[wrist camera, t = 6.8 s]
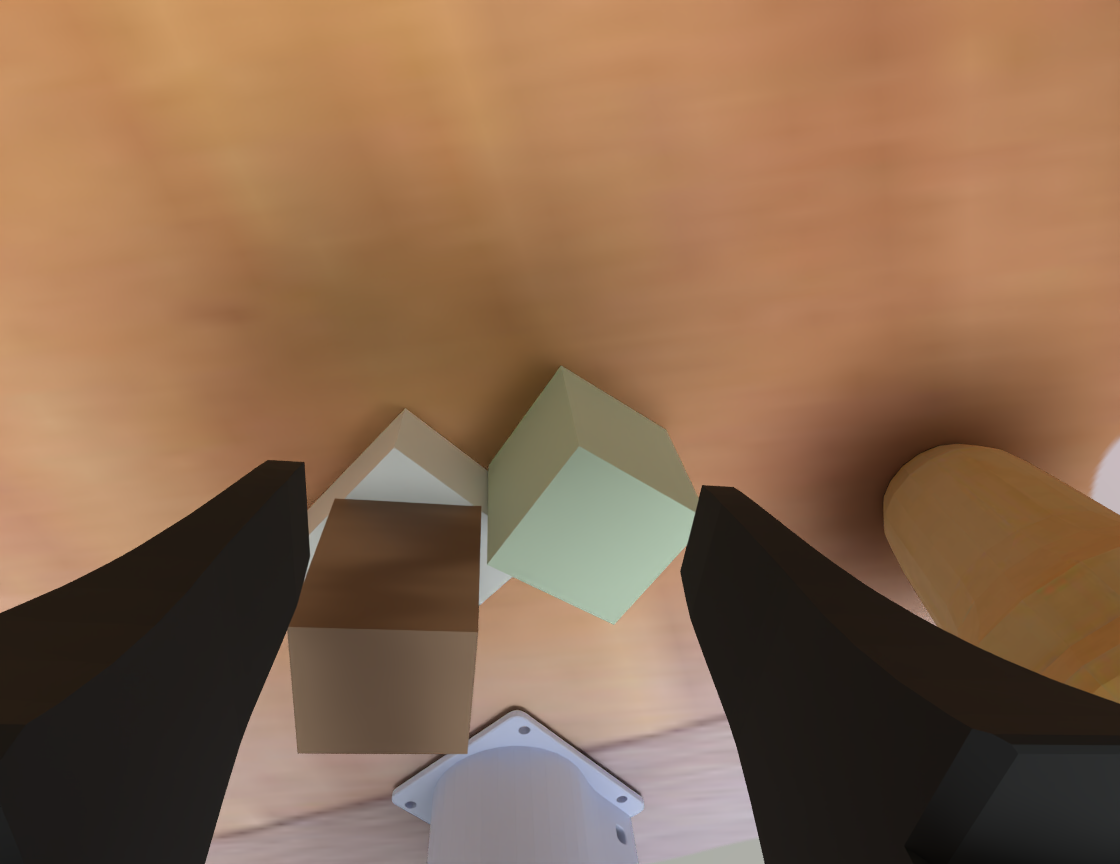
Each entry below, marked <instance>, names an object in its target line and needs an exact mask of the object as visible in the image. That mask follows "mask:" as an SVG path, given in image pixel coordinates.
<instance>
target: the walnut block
mask: <svg viewBox="0 0 1120 864" xmlns="http://www.w3.org/2000/svg"><path fill="white" fill-rule="evenodd" d="M481 508H482V506H464V505H447V504H429V503H411V502H393V501H375V500H356V499H337V498H335V499H334V502H333V504H332V507H331V510H330V513H329V515H328V518H327V521H326V523H325V526H324V529H323V531H322V534H321V537H320V540H319V542H318V545H317V548H316V550H315V553H314V556H313V558H312V561H311V564H310V567H309V569H308V572H307V575H306V577H305V580H304V583H303V586H302V590H301V593H300V597H299V601H298V604H297V607H296V610H295V612H294V614H293V617H292V619H291V622H290V624H289V627H288V629H287V631H288V643H289V655H290V667H291V679H292V691H293V703H294V715H295V727H296V739H297V751H298V753H322V754H467V753H468V741H469V730H470V719H471V707H472V696H473V684H474V673H475V661H476V650H477V639H478V616H479V580H480V544H481Z"/></svg>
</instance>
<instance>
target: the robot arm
mask: <svg viewBox="0 0 1120 864" xmlns="http://www.w3.org/2000/svg"><path fill="white" fill-rule="evenodd" d="M309 559H310V544H309V528H308V512H307V496H306V481H305V465H304V462H292V461H275V460H267V461H266V462H264V463H263V464H261V465H260V466H258V467H257V468H255V469H254V470H252V471H251V472H249V473H248V474H247V475H245V476H244V477H242V478H241V479H240V480H238V481H237V482H236V483H234V484H233V485H231V486H230V487H229V488H227V489H226V490H224V491H223V492H221V493H220V494H219V495H217V496H216V497H214V498H213V499H211V500H210V501H208V502H207V503H206V504H204V505H203V506H201V507H200V508H198V509H197V510H195V511H194V512H193V513H191V514H190V515H188V516H187V517H185V518H183V519H182V520H180V521H179V522H177V523H175V524H174V525H172V526H171V527H169V528H167V529H166V530H164V531H163V532H161V533H159V534H158V535H156V536H155V537H153V538H151V539H150V540H148V541H146V542H145V543H143V544H142V545H140V546H138V547H137V548H135V549H133V550H132V551H130V552H128V553H126V554H125V555H123V556H121V557H119V558H117V559H115V560H114V561H112V562H110V563H108V564H106V565H104V566H102V567H100V568H98V569H96V570H94V571H92V572H90V573H88V574H86V575H84V576H83V577H81V578H79V579H77V580H75V581H73V582H70V583H68V584H66V585H64V586H62V587H60V588H58V589H55V590H53V591H51V592H48V593H46V594H44V595H41V596H39V597H37V598H34V599H32V600H30V601H27V602H25V603H23V604H20V605H18V606H16V607H14V608H11V609H9V610H7V611H4V612H2V613H0V864H205V861H206V858H207V854H208V851H209V847H210V844H211V840H212V837H213V833H214V830H215V826H216V823H217V819H218V816H219V812H220V809H221V805H222V802H223V799H224V795H225V792H226V789H227V786H228V782H229V779H230V776H231V772H232V769H233V766H234V763H235V759H236V756H237V753H238V749H239V746H240V743H241V740H242V738H243V735H244V732H245V730H246V727H247V724H248V722H249V719H250V716H251V714H252V712H253V709H254V707H255V705H256V702H257V700H258V697H259V695H260V693H261V690H262V688H263V686H264V683H265V681H266V679H267V676H268V674H269V672H270V669H271V667H272V665H273V662H274V660H275V658H276V655H277V653H278V650H279V648H280V646H281V643H282V641H283V639H284V636H285V634H286V631H287V629H288V627H289V624H290V622H291V619H292V617H293V614H294V612H295V610H296V607H297V604H298V601H299V597H300V593H301V590H302V586H303V583H304V579H305V575H306V571H307V567H308V563H309ZM680 572H681V577H682V582H683V587H684V592H685V597H686V602H687V606H688V610H689V615H690V619H691V622H692V624H693V627H694V630H695V633H696V636H697V638H698V641H699V644H700V647H701V649H702V652H703V655H704V658H705V660H706V663H707V666H708V668H709V671H710V674H711V676H712V679H713V682H714V684H715V687H716V690H717V692H718V695H719V698H720V700H721V703H722V706H723V708H724V711H725V714H726V716H727V719H728V722H729V725H730V728H731V731H732V734H733V737H734V740H735V743H736V746H737V750H738V754H739V758H740V762H741V766H742V770H743V774H744V777H745V781H746V785H747V789H748V793H749V797H750V801H751V805H752V810H753V814H754V818H755V823H756V827H757V831H758V836H759V840H760V844H761V849H762V853H763V858H764V862H765V864H1120V704H1119V703H1117V702H1114V701H1111V700H1108V699H1105V698H1103V697H1100V696H1097V695H1094V694H1091V693H1089V692H1086V691H1083V690H1080V689H1078V688H1075V687H1072V686H1069V685H1066V684H1064V683H1061V682H1058V681H1056V680H1053V679H1051V678H1048V677H1046V676H1043V675H1041V674H1039V673H1036V672H1034V671H1031V670H1029V669H1027V668H1024V667H1022V666H1019V665H1017V664H1015V663H1012V662H1010V661H1008V660H1005V659H1003V658H1001V657H999V656H996V655H994V654H992V653H990V652H988V651H985V650H983V649H981V648H979V647H977V646H975V645H973V644H971V643H969V642H967V641H965V640H963V639H961V638H959V637H957V636H955V635H953V634H951V633H949V632H947V631H945V630H943V629H941V628H939V627H937V626H935V625H933V624H931V623H929V622H928V621H926V620H924V619H922V618H920V617H918V616H917V615H915V614H913V613H911V612H910V611H908V610H906V609H905V608H903V607H901V606H899V605H898V604H896V603H894V602H893V601H891V600H889V599H888V598H886V597H884V596H883V595H881V594H879V593H878V592H876V591H875V590H873V589H871V588H870V587H868V586H867V585H865V584H864V583H862V582H861V581H859V580H858V579H856V578H855V577H853V576H852V575H851V574H849V573H848V572H846V571H845V570H843V569H842V568H840V567H839V566H838V565H836V564H835V563H833V562H832V561H830V560H829V559H828V558H826V557H825V556H824V555H822V554H821V553H820V552H818V551H817V550H815V549H814V548H813V547H812V546H810V545H809V544H808V543H806V542H805V541H804V540H802V539H801V538H800V537H798V536H797V535H796V534H795V533H793V532H792V531H791V530H790V529H788V528H787V527H786V526H784V525H783V524H782V523H781V522H779V521H778V520H777V519H776V518H774V517H773V516H772V515H771V514H769V513H768V512H767V511H765V510H764V509H763V508H762V507H760V506H759V505H758V504H756V503H755V502H754V501H753V500H751V499H750V498H749V497H747V496H746V495H744V494H743V493H742V492H740V491H739V490H737V489H736V488H734V487H722V486H705V485H702V488H701V492H700V496H699V500H698V504H697V508H696V512H695V516H694V520H693V524H692V528H691V532H690V535H689V539H688V543H687V547H686V551H685V555H684V559H683V563H682V567H681V571H680ZM523 726H526V727H523ZM392 802H393V803H394V804H395V805H397V806H399V807H400V808H402V809H404V810H406V811H407V812H409V813H411V814H413V815H414V816H416V817H418V818H420V819H421V820H423V821H425V822H426V823H428V824H430V834H429V846H428V857H427V864H639V862H638V856H637V850H636V845H635V839H634V834H633V828H632V823H631V817H633V816H635V815H636V814H638V813H640V812H641V811H642V810H643V809H644V801H643V798H642V797H641V796H640V795H638V794H637V793H635V792H634V791H633V790H631V789H630V788H629V787H627V786H626V785H624V784H623V783H622V782H620V781H619V780H618V779H616V778H615V777H613V776H612V775H611V774H609V773H608V772H607V771H605V770H604V769H602V768H601V767H600V766H598V765H597V764H595V763H594V762H593V761H591V760H590V759H589V758H587V757H586V756H584V755H583V754H582V753H580V752H579V751H578V750H576V749H575V748H573V747H572V746H571V745H569V744H568V743H566V742H565V741H564V740H562V739H561V738H560V737H558V736H557V735H555V734H554V733H553V732H551V731H550V730H549V729H547V728H546V727H544V726H543V725H542V724H540V723H539V722H538V721H536V720H535V719H533V718H532V717H531V716H529V715H528V714H526V713H525V712H523V711H520V710H514V711H511V712H509V713H508V714H506V715H505V716H503V717H502V718H500V719H499V720H497V721H496V722H494V723H493V724H491V725H490V726H488V727H487V728H485V729H484V730H482V731H481V732H479V733H478V734H476V735H475V736H473V737H472V738H470V739H469V741H468V753H467V754H446V755H445V756H443V757H442V758H440V759H439V760H437V761H436V762H434V763H433V764H431V765H430V766H428V767H427V768H425V769H424V770H422V771H421V772H419V773H418V774H416V775H415V776H413V777H412V778H410V779H409V780H407V781H406V782H404V783H403V784H401V785H400V786H398V787H397V788H395V789H394V790H393V793H392Z"/></svg>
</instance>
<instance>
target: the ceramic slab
mask: <svg viewBox="0 0 1120 864" xmlns="http://www.w3.org/2000/svg"><path fill="white" fill-rule="evenodd" d="M335 498H337V499H356V500H375V501H393V502H411V503H429V504H447V505H464V506H482V508H481V544H480V580H479V605H481V604H482V603H483V602H484V601H485V600H486V599H487V598H489V597H490V596H491V595H492V594H493V593H494V592H495V591H497V590H498V589H499V588H500V587H501V586H502V585H504V584H505V583H506V582H507V581H508V580H509V579H510V578H512V576H510V575H508V574H506V573H504V572H501V571H499V570H497V569H495V568H493V567H491V566H489V565H487V532H488V471H487V470H486V469H485V468H483V467H482V466H481V465H479V464H478V463H477V462H475V461H474V460H473V459H472V458H470V457H469V456H468V455H466V454H465V453H464V452H462V451H461V450H460V449H458V448H457V447H456V446H454V445H453V444H452V443H451V442H449V441H448V440H447V439H445V438H444V437H443V436H441V435H440V434H439V433H437V432H436V431H435V430H433V429H432V428H431V427H430V426H428V425H427V424H426V423H424V422H423V421H422V420H420V419H419V418H418V417H416V416H415V415H414V414H412V413H411V412H410V411H409V410H407V409H406V408H405V409H404V410H403V411H402V412H401V413H400V414H399V415H398V416H397V417H396V418H395V419H394V420H393V421H392V422H391V424H390V425H389V426H388V427H387V428H386V429H385V430H384V431H383V432H382V433H381V434H380V435H379V436H378V437H377V438H376V439H375V440H374V441H373V442H372V443H371V444H370V445H369V446H368V448H367V449H366V450H365V451H364V452H363V453H362V454H361V455H360V456H359V457H358V458H357V459H356V460H355V461H354V462H353V463H352V464H351V465H350V466H349V467H348V468H347V469H346V470H345V472H344V473H343V474H342V475H341V476H340V477H339V478H338V479H337V480H336V481H335V482H334V483H333V484H332V485H331V486H330V487H329V488H328V489H327V490H326V491H325V492H324V493H323V495H322V496H321V497H320V498H319V499H318V500H317V501H316V502H315V503H314V504H313V505H312V506H311V507H310V508H309V509H308V510H307V512H308V528H309V544H310V559H309V563H308V567H307V571H306V575H307V572H308V569H309V567H310V564H311V561H312V558H313V556H314V553H315V550H316V548H317V545H318V542H319V540H320V537H321V534H322V531H323V529H324V526H325V523H326V521H327V518H328V515H329V513H330V510H331V507H332V504H333V502H334V499H335ZM306 575H305V577H306ZM304 580H305V579H304Z"/></svg>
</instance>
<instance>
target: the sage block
mask: <svg viewBox="0 0 1120 864" xmlns="http://www.w3.org/2000/svg"><path fill="white" fill-rule="evenodd" d="M698 500H699V498H698V496H697V494H696V491H695V489H694V487H693V485H692V483H691V481H690V479H689V477H688V475H687V473H686V470H685V468H684V466H683V464H682V462H681V460H680V458H679V456H678V454H677V452H676V449H675V447H674V445H673V443H672V441H671V439H670V437H669V435H668V433H667V430H666V429H664V428H662V427H661V426H659V425H658V424H656V423H654V422H653V421H651V420H649V419H648V418H646V417H644V416H643V415H641V414H640V413H638V412H636V411H635V410H633V409H631V408H630V407H628V406H627V405H625V404H623V403H622V402H620V401H618V400H617V399H615V398H613V397H612V396H610V395H609V394H607V393H605V392H604V391H602V390H600V389H599V388H597V387H595V386H594V385H592V384H591V383H589V382H587V381H586V380H584V379H582V378H581V377H579V376H578V375H576V374H574V373H573V372H571V371H569V370H568V369H566V368H564V367H563V366H560V368H559V369H558V370H557V372H556V373H555V374H554V376H553V377H552V379H551V380H550V381H549V383H548V384H547V385H546V387H545V388H544V390H543V391H542V392H541V394H540V395H539V397H538V398H537V399H536V401H535V402H534V403H533V405H532V406H531V408H530V409H529V410H528V412H527V413H526V414H525V416H524V417H523V419H522V420H521V421H520V423H519V424H518V425H517V427H516V428H515V430H514V431H513V432H512V434H511V435H510V436H509V438H508V439H507V441H506V442H505V443H504V445H503V446H502V447H501V449H500V450H499V452H498V453H497V454H496V456H495V457H494V458H493V460H492V461H491V463H490V464H489V467H488V532H487V565H489V566H491V567H493V568H495V569H497V570H499V571H501V572H504V573H506V574H508V575H510V576H512V577H514V578H516V579H518V580H520V581H523V582H525V583H527V584H529V585H531V586H533V587H535V588H537V589H539V590H542V591H544V592H546V593H548V594H550V595H552V596H554V597H556V598H558V599H561V600H563V601H565V602H567V603H569V604H571V605H573V606H575V607H577V608H579V609H582V610H584V611H586V612H588V613H590V614H592V615H594V616H596V617H598V618H601V619H603V620H605V621H607V622H609V623H611V624H613V625H614V624H615V623H616V622H617V621H618V620H619V619H620V618H621V616H622V615H623V614H624V613H625V612H626V611H627V610H628V609H629V608H630V607H631V606H632V604H633V603H634V602H635V601H636V600H637V599H638V598H639V597H640V596H641V595H642V593H643V592H644V591H645V590H646V589H647V588H648V587H649V586H650V585H651V584H652V583H653V581H654V580H655V579H656V578H657V577H658V576H659V575H660V574H661V573H662V572H663V570H664V569H665V568H666V567H667V566H668V565H669V564H670V563H671V562H672V561H673V559H674V558H675V557H676V556H677V555H678V554H679V553H680V552H681V551H682V550H683V549H684V547H685V546H686V545H687V543H688V539H689V535H690V532H691V528H692V524H693V520H694V516H695V512H696V508H697V504H698Z"/></svg>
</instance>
